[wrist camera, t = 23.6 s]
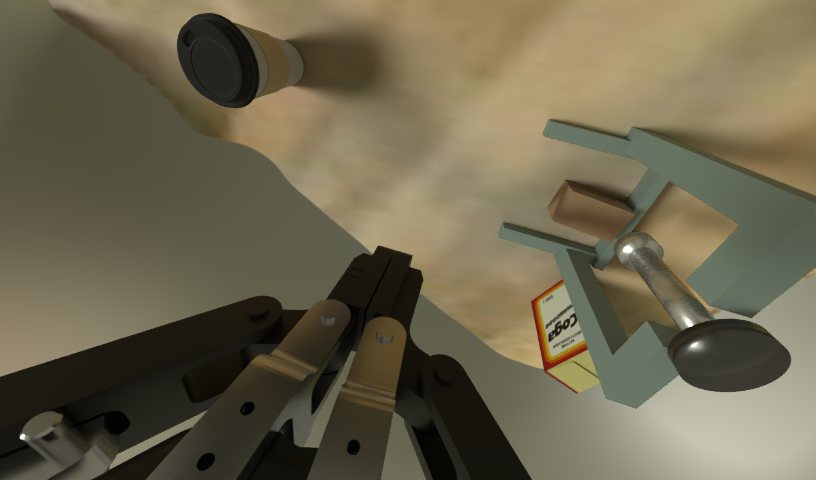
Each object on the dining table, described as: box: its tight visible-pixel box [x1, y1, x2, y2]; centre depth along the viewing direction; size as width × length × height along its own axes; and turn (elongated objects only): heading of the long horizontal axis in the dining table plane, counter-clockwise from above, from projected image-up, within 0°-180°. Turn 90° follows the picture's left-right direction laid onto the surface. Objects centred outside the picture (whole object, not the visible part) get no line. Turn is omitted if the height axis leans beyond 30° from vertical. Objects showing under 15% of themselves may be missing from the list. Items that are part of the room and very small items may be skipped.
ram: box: [614, 232, 791, 392], centre depth 27 cm, size 6×6×16 cm
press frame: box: [499, 119, 816, 409], centre depth 34 cm, size 22×17×26 cm
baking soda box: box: [531, 280, 600, 393], centre depth 48 cm, size 10×6×16 cm
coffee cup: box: [177, 13, 304, 108], centre depth 38 cm, size 9×9×15 cm
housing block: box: [547, 180, 635, 243], centre depth 43 cm, size 5×9×5 cm, turn 74°
